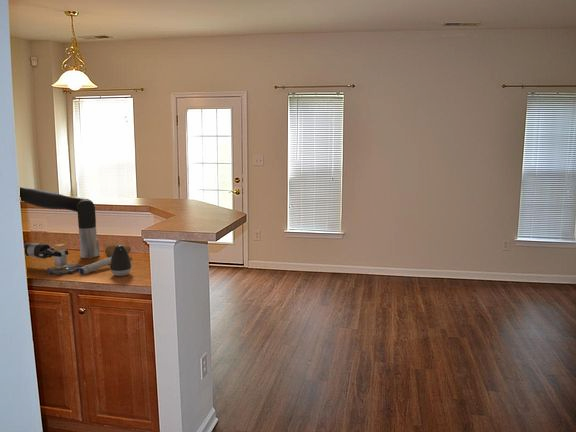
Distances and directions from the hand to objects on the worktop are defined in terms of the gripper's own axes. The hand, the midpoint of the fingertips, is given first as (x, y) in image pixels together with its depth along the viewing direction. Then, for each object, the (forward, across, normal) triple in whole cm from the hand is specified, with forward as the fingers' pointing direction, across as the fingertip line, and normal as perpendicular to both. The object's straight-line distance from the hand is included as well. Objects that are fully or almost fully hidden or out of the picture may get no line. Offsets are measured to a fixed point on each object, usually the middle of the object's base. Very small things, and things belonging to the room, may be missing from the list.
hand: (64, 253), depth 249 cm
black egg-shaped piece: (+33, +3, +9) cm, 34 cm away
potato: (+11, +28, +9) cm, 31 cm away
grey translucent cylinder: (-3, 0, +6) cm, 7 cm away
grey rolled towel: (+17, +8, +9) cm, 21 cm away
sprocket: (+1, -1, +9) cm, 9 cm away
